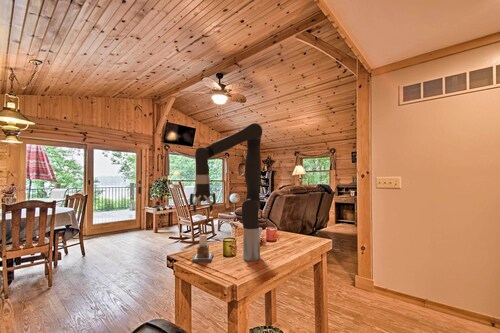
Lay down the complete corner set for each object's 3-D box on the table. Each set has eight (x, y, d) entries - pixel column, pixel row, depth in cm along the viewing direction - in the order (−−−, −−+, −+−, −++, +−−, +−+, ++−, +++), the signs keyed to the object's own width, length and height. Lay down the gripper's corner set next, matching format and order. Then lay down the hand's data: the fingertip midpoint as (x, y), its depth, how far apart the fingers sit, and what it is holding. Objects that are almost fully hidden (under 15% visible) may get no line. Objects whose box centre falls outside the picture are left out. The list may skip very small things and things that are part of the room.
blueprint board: (213, 255, 141) (213, 252, 141) (210, 261, 131) (210, 258, 131) (195, 255, 141) (195, 253, 141) (192, 262, 131) (192, 259, 131)
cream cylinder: (207, 245, 138) (207, 234, 139) (206, 247, 134) (206, 236, 135) (200, 245, 138) (200, 234, 138) (198, 247, 134) (198, 236, 134)
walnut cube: (208, 254, 139) (208, 244, 139) (207, 257, 134) (207, 247, 134) (199, 254, 139) (199, 244, 139) (197, 257, 133) (197, 247, 133)
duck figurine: (251, 247, 164) (258, 235, 159) (245, 238, 169) (252, 227, 164) (264, 243, 172) (271, 232, 167) (258, 235, 177) (265, 224, 172)
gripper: (216, 182, 141) (216, 210, 141) (191, 182, 141) (191, 211, 140) (214, 183, 134) (215, 212, 133) (188, 183, 133) (188, 213, 133)
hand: (202, 211), depth 137 cm, fingers open, 8 cm apart
